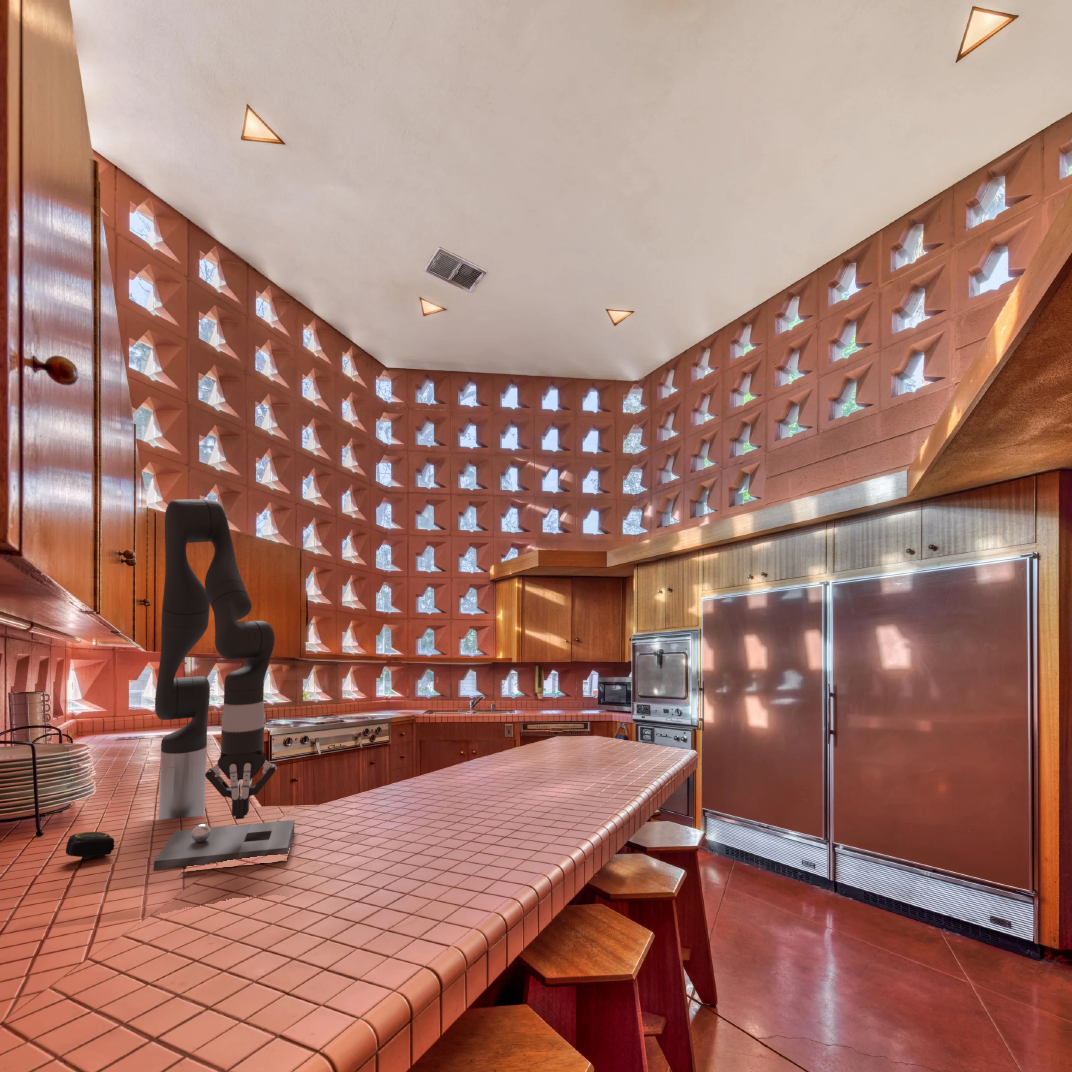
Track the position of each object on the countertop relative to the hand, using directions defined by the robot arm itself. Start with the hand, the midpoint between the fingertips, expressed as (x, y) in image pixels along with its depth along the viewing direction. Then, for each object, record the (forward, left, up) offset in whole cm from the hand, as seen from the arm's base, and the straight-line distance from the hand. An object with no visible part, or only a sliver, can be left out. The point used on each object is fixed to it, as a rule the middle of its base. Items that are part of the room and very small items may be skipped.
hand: (240, 817), depth 124 cm
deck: (-1, -2, -6) cm, 7 cm away
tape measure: (-10, -25, -6) cm, 27 cm away
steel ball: (-2, -6, -2) cm, 7 cm away
